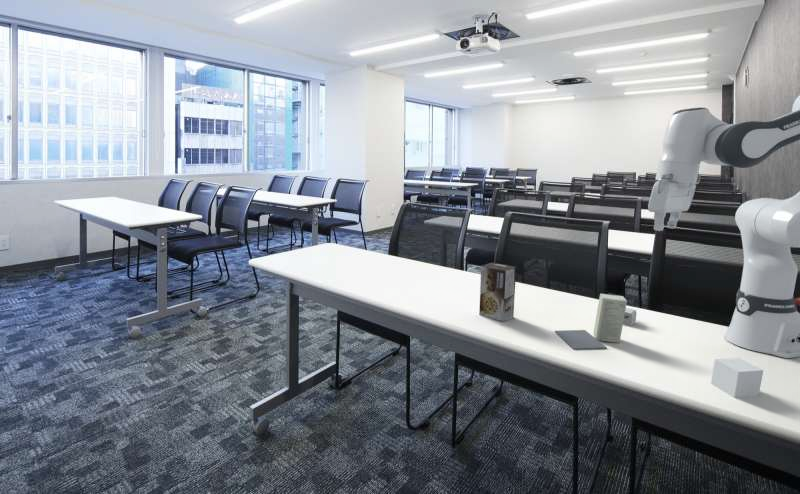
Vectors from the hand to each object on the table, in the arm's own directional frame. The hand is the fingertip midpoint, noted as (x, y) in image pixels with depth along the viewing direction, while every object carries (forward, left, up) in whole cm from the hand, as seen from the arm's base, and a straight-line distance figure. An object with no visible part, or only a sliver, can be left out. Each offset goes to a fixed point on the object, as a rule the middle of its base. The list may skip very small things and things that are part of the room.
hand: (664, 229), depth 116 cm
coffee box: (+36, -23, -32) cm, 53 cm away
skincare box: (+11, -3, -31) cm, 33 cm away
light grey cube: (-3, +25, -32) cm, 40 cm away
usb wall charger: (-3, -16, -32) cm, 36 cm away
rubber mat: (+18, -3, -31) cm, 36 cm away
